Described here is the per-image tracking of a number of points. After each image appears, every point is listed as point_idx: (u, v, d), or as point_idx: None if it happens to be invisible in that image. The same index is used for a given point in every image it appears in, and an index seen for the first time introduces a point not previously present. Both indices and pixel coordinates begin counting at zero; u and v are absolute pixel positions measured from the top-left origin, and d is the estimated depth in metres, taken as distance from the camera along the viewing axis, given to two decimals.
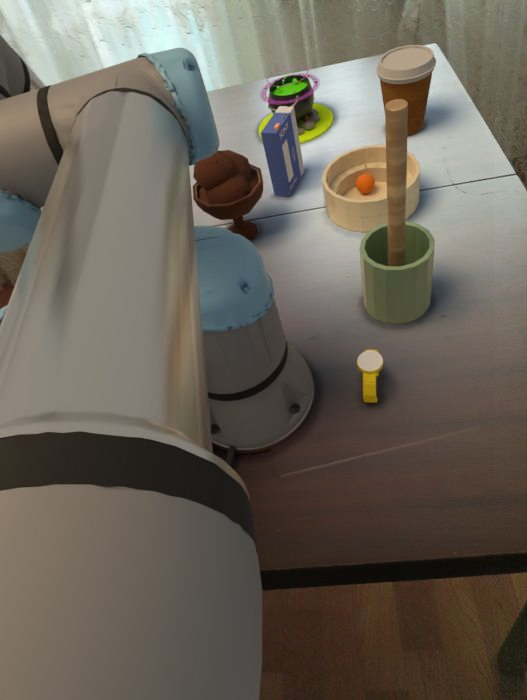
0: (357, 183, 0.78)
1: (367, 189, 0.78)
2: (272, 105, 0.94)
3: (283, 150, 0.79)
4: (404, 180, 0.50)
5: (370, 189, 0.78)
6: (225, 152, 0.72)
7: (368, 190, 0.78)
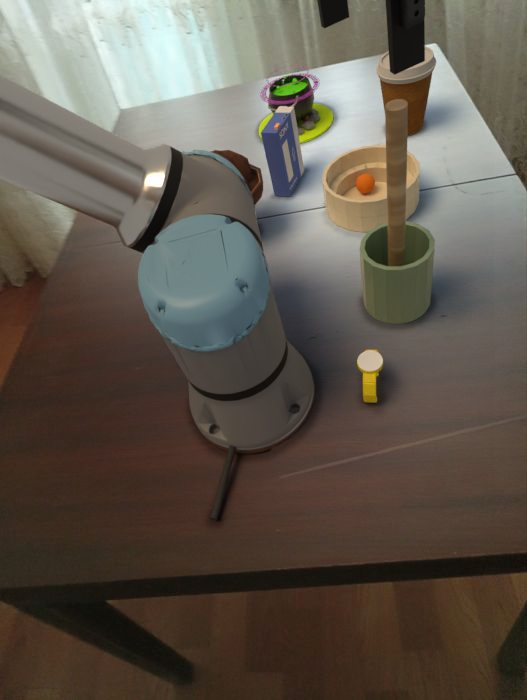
0: (357, 183, 0.78)
1: (367, 189, 0.78)
2: (272, 105, 0.94)
3: (283, 150, 0.79)
4: (404, 180, 0.50)
5: (370, 189, 0.78)
6: (225, 152, 0.72)
7: (368, 190, 0.78)
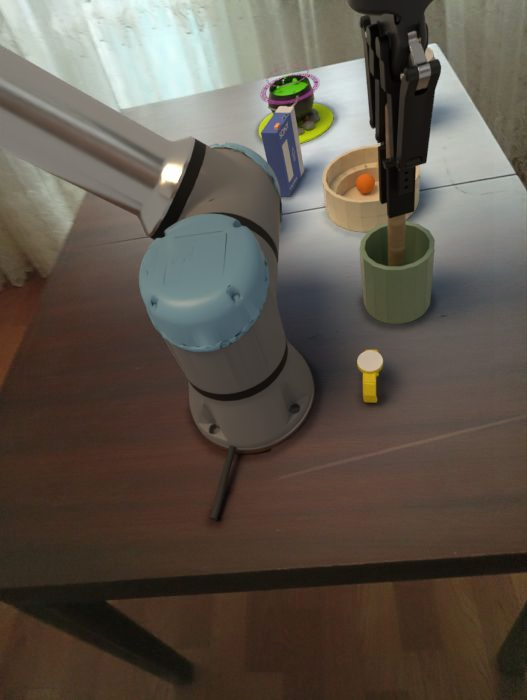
0: (357, 183, 0.78)
1: (367, 189, 0.78)
2: (272, 105, 0.94)
3: (283, 150, 0.79)
4: None
5: (370, 189, 0.78)
6: None
7: (368, 190, 0.78)
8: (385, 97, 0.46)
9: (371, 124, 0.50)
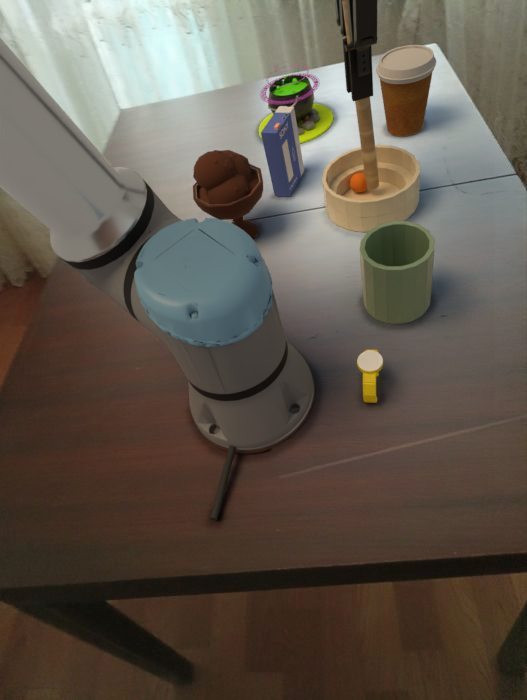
0: (350, 186, 0.79)
1: (360, 185, 0.78)
2: (272, 105, 0.94)
3: (283, 150, 0.79)
4: None
5: (363, 184, 0.78)
6: (225, 152, 0.72)
7: (362, 186, 0.78)
8: None
9: (337, 22, 0.64)
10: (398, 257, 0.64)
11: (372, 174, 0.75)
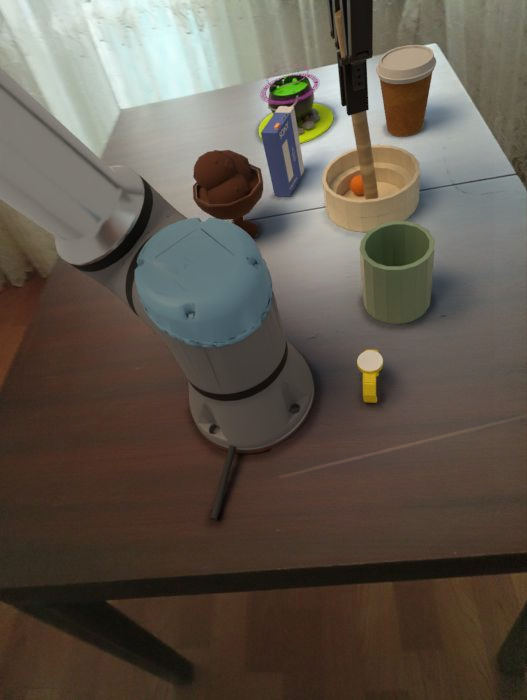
0: (350, 186, 0.79)
1: (359, 190, 0.78)
2: (272, 105, 0.94)
3: (283, 150, 0.79)
4: None
5: (363, 189, 0.78)
6: (225, 152, 0.72)
7: (361, 191, 0.78)
8: (340, 6, 0.57)
9: (331, 35, 0.62)
10: (398, 257, 0.64)
11: (371, 186, 0.74)
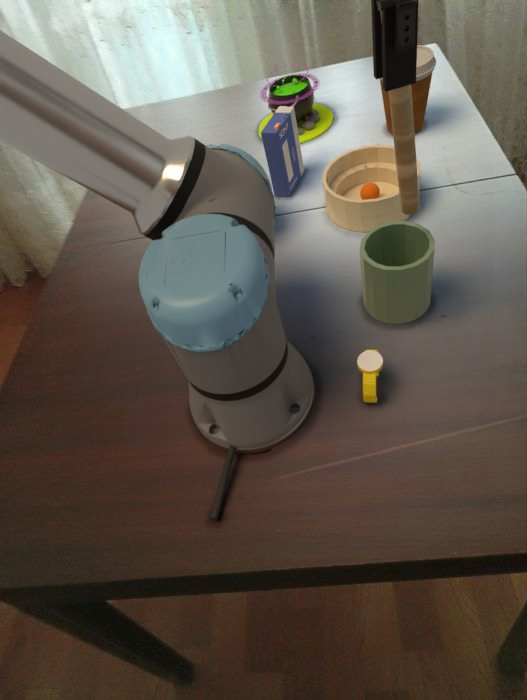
0: (363, 195, 0.77)
1: None
2: (272, 105, 0.94)
3: (283, 150, 0.79)
4: None
5: None
6: None
7: None
8: None
9: None
10: (398, 257, 0.64)
11: (410, 194, 0.53)
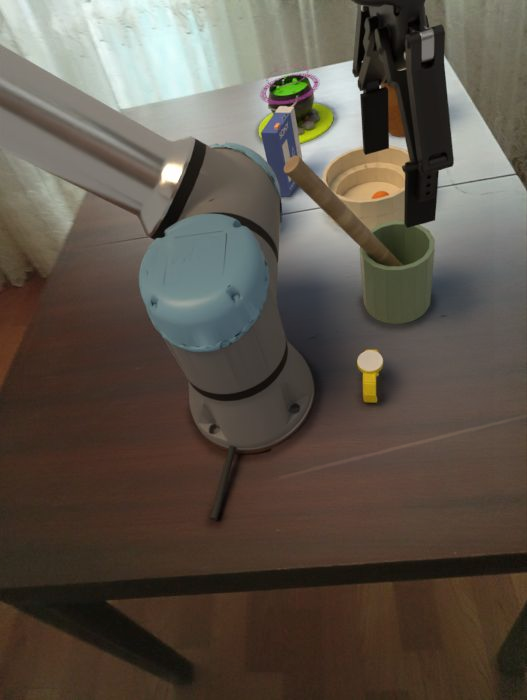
0: None
1: (372, 196, 0.75)
2: (272, 105, 0.94)
3: (283, 150, 0.79)
4: (340, 212, 0.52)
5: None
6: None
7: None
8: (373, 65, 0.47)
9: (354, 73, 0.52)
10: (398, 257, 0.64)
11: None
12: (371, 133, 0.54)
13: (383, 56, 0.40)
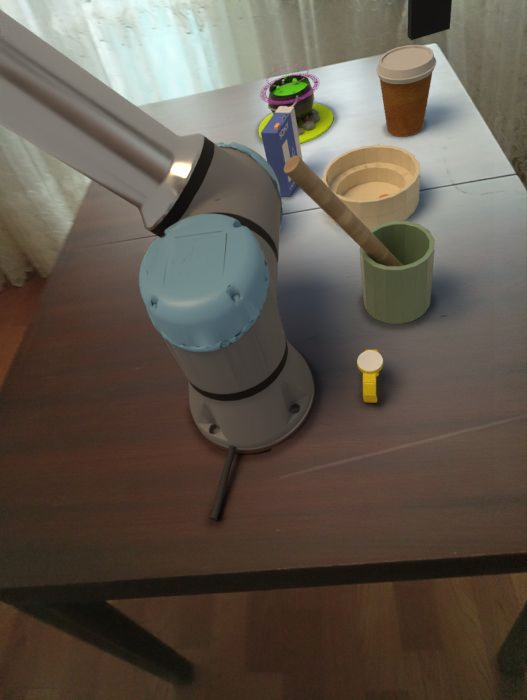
0: None
1: None
2: (272, 105, 0.94)
3: (283, 150, 0.79)
4: (340, 212, 0.52)
5: None
6: None
7: None
8: None
9: None
10: (398, 257, 0.64)
11: None
12: None
13: None
